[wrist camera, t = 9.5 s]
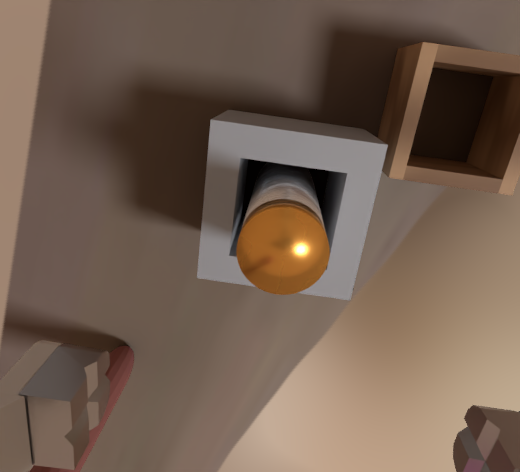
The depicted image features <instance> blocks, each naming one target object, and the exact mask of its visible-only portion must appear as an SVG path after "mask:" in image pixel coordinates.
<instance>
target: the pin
mask: <svg viewBox="0 0 520 472" xmlns="http://www.w3.org/2000/svg"><path fill="white" fill-rule="evenodd" d="M236 254H237V260H238V264H239V267H240V269H241V271H242V273H243V274H244V276H245V277H246V278H247V279H248V280H249V281H250V282H251V283H252V284H253V285H255V286H256V287H258V288H259V289H261V290H264V291H266V292H269V293H273V294H281V295H285V294H294V293H298V292H301V291H303V290H305V289H307V288H309V287H311V286H312V285H313V284H315V283H316V282H317V281H318V280H319V279H320V277H321V276H322V275H323V273H324V272H325V270H326V267H327V265H328V261H329V256H330V248H329V242H328V238H327V234H326V231H325V227H324V223H323V219H322V215H321V211H320V207H319V203H318V199H317V195H316V191H315V187H314V183H313V179H312V176H311V173H310V171H309V170H308V168H307V167H300V166H293V165H286V164H280V163H273V162H267V163H266V164H265V165H264V166H263V167H262V168H261V170H260V171H259V173H258V176H257V179H256V182H255V186H254V189H253V192H252V196H251V199H250V202H249V205H248V209H247V212H246V215H245V219H244V222H243V225H242V229H241V232H240V235H239V239H238V242H237V250H236Z"/></svg>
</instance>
